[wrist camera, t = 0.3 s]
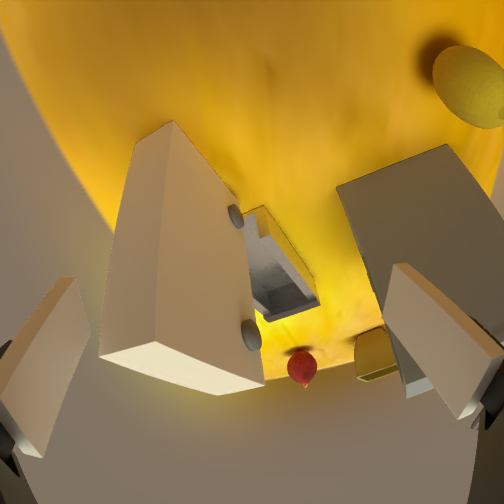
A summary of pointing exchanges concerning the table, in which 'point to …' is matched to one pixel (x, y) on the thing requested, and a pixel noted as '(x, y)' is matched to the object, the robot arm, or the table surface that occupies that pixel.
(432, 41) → the table surface
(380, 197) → the cabinet
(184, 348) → the door
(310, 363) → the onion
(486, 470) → the robot arm
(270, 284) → the drawer
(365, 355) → the flower pot
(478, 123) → the lemon
